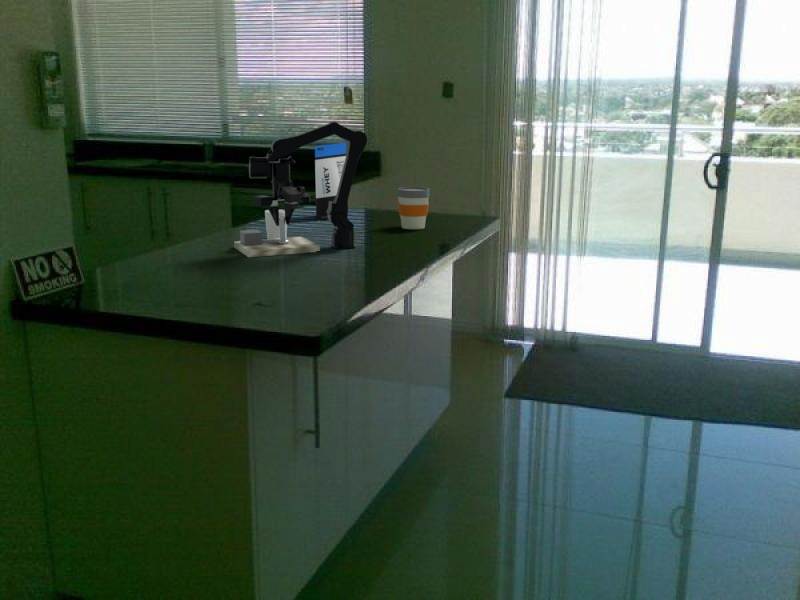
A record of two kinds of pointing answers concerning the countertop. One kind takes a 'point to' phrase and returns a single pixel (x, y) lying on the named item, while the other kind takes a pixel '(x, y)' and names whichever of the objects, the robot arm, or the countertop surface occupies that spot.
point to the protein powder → (328, 175)
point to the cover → (251, 237)
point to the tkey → (282, 233)
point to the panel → (278, 247)
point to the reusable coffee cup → (413, 206)
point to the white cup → (273, 225)
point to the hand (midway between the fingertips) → (282, 225)
